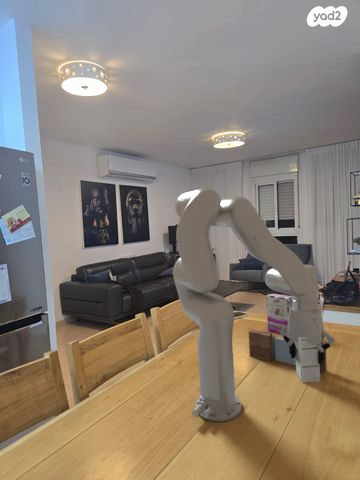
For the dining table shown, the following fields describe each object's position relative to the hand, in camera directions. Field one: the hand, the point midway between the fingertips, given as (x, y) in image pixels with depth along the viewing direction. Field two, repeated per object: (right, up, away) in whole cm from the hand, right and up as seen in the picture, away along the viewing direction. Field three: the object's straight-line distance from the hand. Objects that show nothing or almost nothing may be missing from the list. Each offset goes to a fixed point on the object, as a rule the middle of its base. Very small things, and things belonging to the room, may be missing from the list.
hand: (306, 359), depth 99 cm
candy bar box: (+5, -3, +39) cm, 39 cm away
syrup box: (0, -6, 0) cm, 6 cm away
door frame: (-3, -5, +11) cm, 12 cm away
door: (-2, -5, +9) cm, 10 cm away
